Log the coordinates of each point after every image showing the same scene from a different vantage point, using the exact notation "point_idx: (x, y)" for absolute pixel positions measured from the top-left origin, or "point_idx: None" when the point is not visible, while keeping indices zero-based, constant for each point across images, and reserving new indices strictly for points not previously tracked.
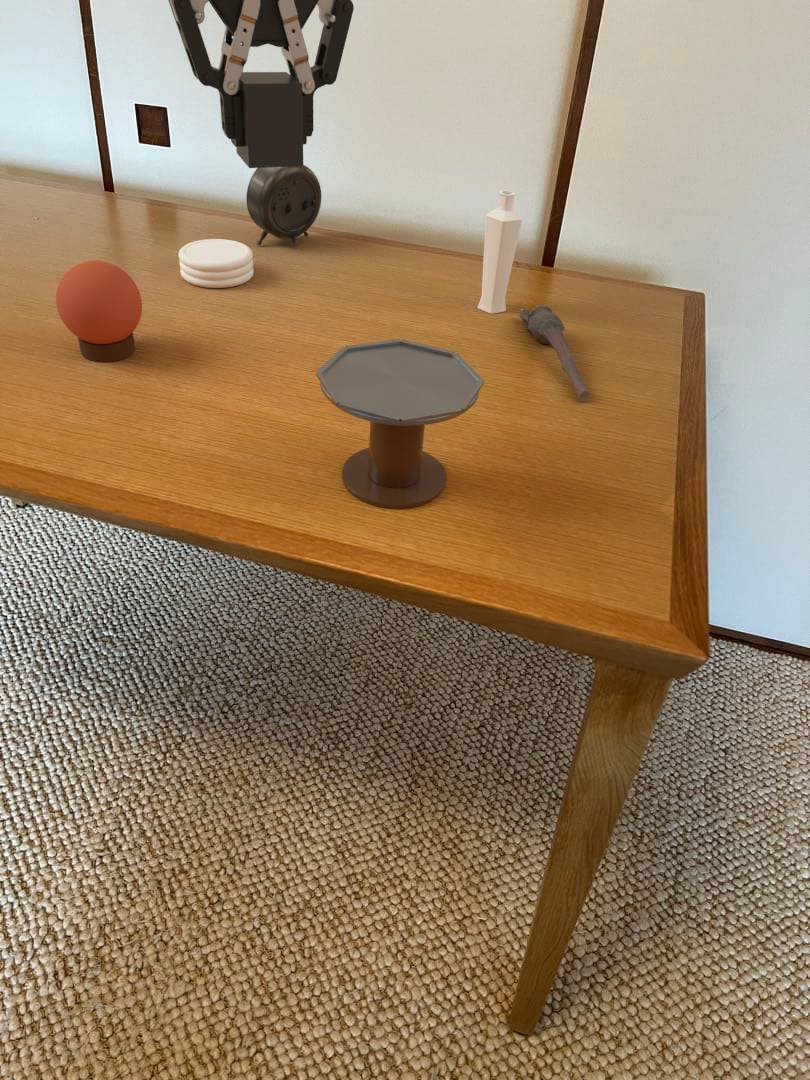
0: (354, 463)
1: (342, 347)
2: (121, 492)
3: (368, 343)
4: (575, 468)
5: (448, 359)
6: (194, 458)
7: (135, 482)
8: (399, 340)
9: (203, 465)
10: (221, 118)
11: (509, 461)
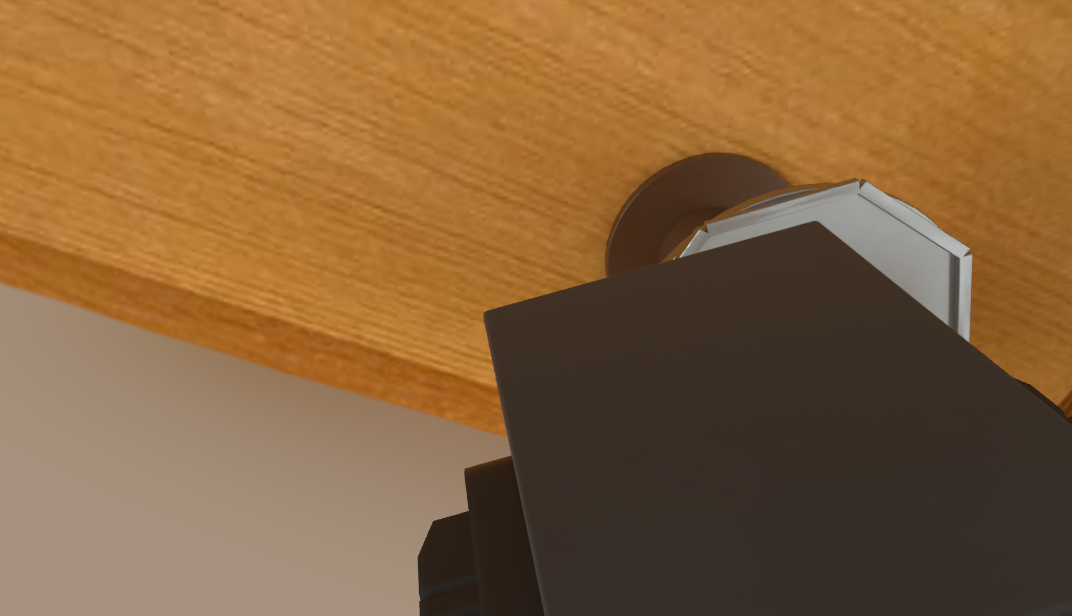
0: (637, 223)
1: (697, 234)
2: (175, 294)
3: (771, 208)
4: (1041, 223)
5: (938, 270)
6: (300, 180)
7: (193, 263)
8: (857, 188)
9: (324, 206)
10: (421, 613)
11: (936, 199)
